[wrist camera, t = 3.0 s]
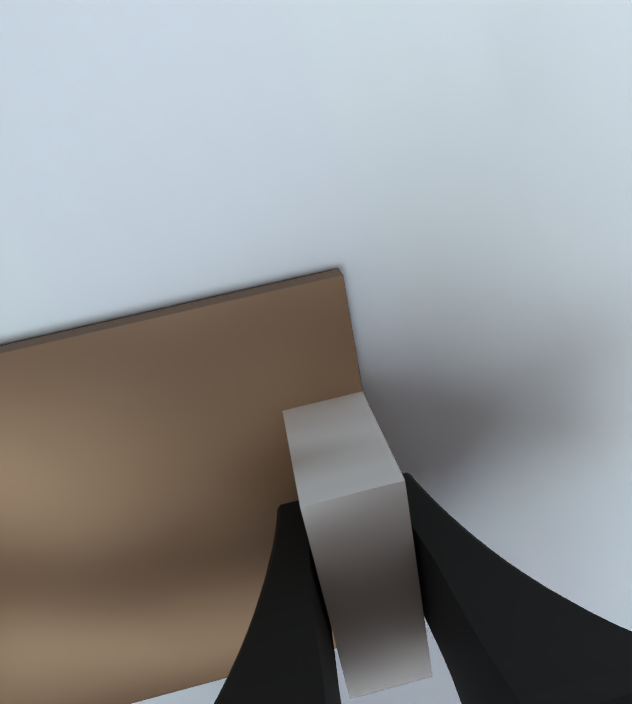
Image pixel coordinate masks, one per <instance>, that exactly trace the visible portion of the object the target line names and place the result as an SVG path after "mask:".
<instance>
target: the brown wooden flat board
mask: <svg viewBox="0 0 632 704" xmlns="http://www.w3.org/2000/svg"><path fill="white" fill-rule="evenodd" d="M297 500H299V504H300V509H301V512H302V516H303V520H304V524H305V528H306V532H307V535H308V539H309V543H310V547H311V551H312V555H313V558H314V562H315V566H316V570H317V574H318V578H319V581H320V585H321V589H322V593H323V597H324V601H325V604H326V608H327V612H328V616H329V620H330V623H331V627H332V634H333V643H334V649H335V648H337V650H338V654H339V658H340V662H341V666H342V669H343V673H344V677H345V681H346V685H347V689H348V692H349V696H350V699H353V698H356V697H360V696H363V695H367V694H371V693H374V692H378V691H381V690H385V689H389V688H392V687H396V686H399V685H403V684H407V683H410V682H414V681H418V680H421V679H425V678H428V677H432V671H431V663H430V656H429V649H428V642H427V635H426V627H425V620H424V613H423V606H422V599H421V592H420V584H419V577H418V570H417V563H416V556H415V548H414V541H413V534H412V527H411V520H410V513H409V505H408V498H407V491H406V484H405V479H404V477H403V475H402V473H401V471H400V469H399V467H398V465H397V463H396V460H395V458H394V456H393V454H392V452H391V450H390V448H389V446H388V444H387V442H386V439H385V437H384V435H383V433H382V431H381V429H380V427H379V425H378V423H377V421H376V418H375V416H374V414H373V412H372V410H371V408H370V406H369V404H368V402H367V400H366V397H365V395H364V393H363V391H362V385H361V379H360V373H359V367H358V361H357V355H356V349H355V343H354V338H353V332H352V326H351V320H350V314H349V308H348V302H347V296H346V290H345V284H344V278H343V274H342V273H341V271H340V270H339V269H335V270H331V271H326V272H322V273H317V274H313V275H309V276H304V277H300V278H296V279H291V280H287V281H282V282H278V283H274V284H269V285H265V286H260V287H256V288H252V289H247V290H243V291H239V292H234V293H230V294H225V295H221V296H217V297H212V298H208V299H204V300H199V301H195V302H190V303H186V304H182V305H177V306H173V307H168V308H164V309H160V310H155V311H151V312H147V313H142V314H138V315H133V316H129V317H125V318H120V319H116V320H112V321H107V322H103V323H98V324H94V325H90V326H85V327H81V328H76V329H72V330H68V331H63V332H59V333H55V334H50V335H46V336H41V337H37V338H33V339H28V340H24V341H20V342H15V343H11V344H6V345H2V346H0V704H131V703H135V702H139V701H143V700H146V699H150V698H154V697H157V696H161V695H165V694H168V693H172V692H176V691H179V690H183V689H187V688H191V687H194V686H198V685H202V684H205V683H209V682H213V681H216V680H220V679H224V678H227V677H228V675H229V673H230V670H231V668H232V666H233V664H234V662H235V659H236V657H237V655H238V653H239V650H240V648H241V646H242V643H243V641H244V638H245V636H246V633H247V631H248V628H249V625H250V623H251V620H252V617H253V614H254V611H255V609H256V605H257V602H258V599H259V596H260V592H261V589H262V586H263V583H264V579H265V576H266V572H267V568H268V563H269V559H270V555H271V551H272V546H273V541H274V535H275V529H276V521H277V509H278V508H279V506H280V505H281V504H285V503H289V502H293V501H297Z"/></svg>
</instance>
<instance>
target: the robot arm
mask: <svg viewBox="0 0 632 704" xmlns="http://www.w3.org/2000/svg"><path fill="white" fill-rule="evenodd" d="M402 475H403V477H404V479H405V484H406V491H407V498H408V505H409V513H410V520H411V527H412V534H413V541H414V548H415V556H416V563H417V570H418V577H419V584H420V592H421V599H422V606H423V613H424V616H425V618H426V621H427V623H428V625H429V627H430V629H431V631H432V634H433V636H434V638H435V640H436V642H437V644H438V646H439V649H440V651H441V653H442V655H443V657H444V659H445V662H446V664H447V667H448V669H449V671H450V674H451V676H452V679H453V681H454V684H455V687H456V690H457V692H458V695H459V698H460V701H461V703H462V704H632V631H629V630H627V629H625V628H622V627H620V626H618V625H616V624H614V623H611V622H609V621H607V620H605V619H603V618H601V617H599V616H597V615H595V614H593V613H591V612H589V611H588V610H586V609H584V608H582V607H580V606H579V605H577V604H575V603H573V602H571V601H570V600H568V599H566V598H564V597H562V596H561V595H559V594H557V593H555V592H553V591H552V590H550V589H548V588H547V587H545V586H543V585H542V584H540V583H539V582H537V581H535V580H534V579H532V578H531V577H529V576H528V575H526V574H525V573H523V572H522V571H520V570H519V569H517V568H516V567H514V566H513V565H511V564H510V563H508V562H507V561H506V560H504V559H503V558H501V557H500V556H499V555H497V554H496V553H495V552H493V551H492V550H491V549H490V548H488V547H487V546H486V545H484V544H483V543H482V542H481V541H479V540H478V539H477V538H476V537H474V536H473V535H472V534H471V533H470V532H468V531H467V530H466V529H465V528H464V527H463V526H462V525H460V524H459V523H458V522H457V521H456V520H455V519H454V518H453V517H451V516H450V515H449V514H448V513H447V512H446V511H445V510H444V509H443V508H442V507H441V506H440V505H439V504H438V503H437V502H436V501H435V500H434V499H433V498H432V497H430V495H429V494H428V493H427V492H426V491H425V490H424V489H423V488H422V487H421V486H420V485H419V484H418V483H417V482H416V480H415V479H414V478H413V477H412V476H411V475H410V474H408V473H403V474H402ZM214 704H341V699H340V693H339V686H338V677H337V669H336V660H335V652H334V643H333V634H332V627H331V623H330V620H329V616H328V612H327V608H326V604H325V601H324V597H323V593H322V589H321V585H320V581H319V578H318V574H317V570H316V566H315V562H314V558H313V555H312V551H311V547H310V543H309V539H308V535H307V532H306V528H305V524H304V520H303V516H302V512H301V509H300V504H299V500H297V501H293V502H289V503H285V504H281V505H280V506H279V508H278V509H277V521H276V529H275V535H274V541H273V546H272V551H271V555H270V559H269V563H268V568H267V572H266V576H265V579H264V583H263V586H262V589H261V592H260V596H259V599H258V602H257V605H256V609H255V611H254V614H253V617H252V620H251V623H250V625H249V628H248V631H247V633H246V636H245V638H244V641H243V643H242V646H241V648H240V650H239V653H238V655H237V657H236V659H235V662H234V664H233V666H232V668H231V670H230V673H229V675H228V677H227V679H226V681H225V683H224V685H223V687H222V689H221V691H220V693H219V695H218V697H217V699H216V701H215V703H214Z"/></svg>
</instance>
